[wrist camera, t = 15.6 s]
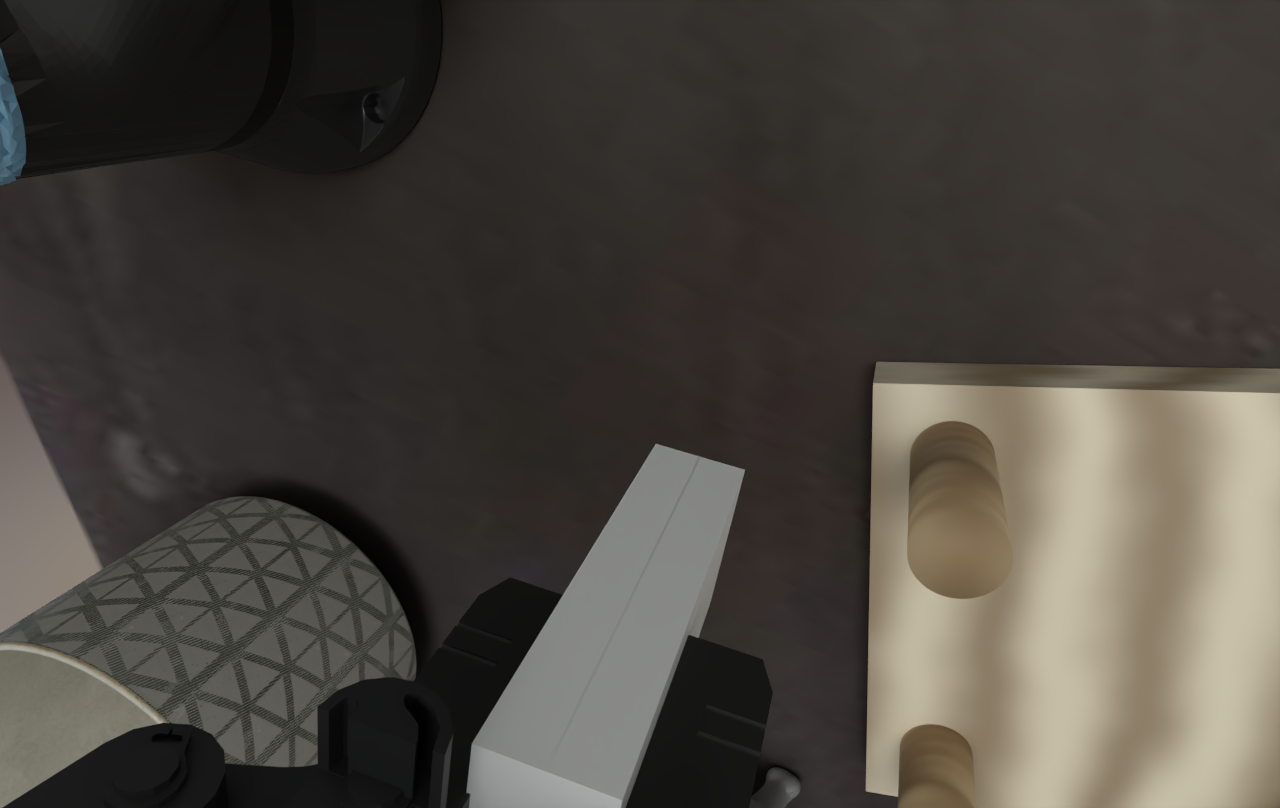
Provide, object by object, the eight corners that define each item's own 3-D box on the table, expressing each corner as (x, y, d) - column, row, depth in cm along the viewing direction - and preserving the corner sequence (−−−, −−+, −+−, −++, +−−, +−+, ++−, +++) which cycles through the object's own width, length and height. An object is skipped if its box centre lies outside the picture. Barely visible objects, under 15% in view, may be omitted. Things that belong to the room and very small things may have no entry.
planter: (316, 736, 64) (113, 963, 48) (159, 536, 61) (-113, 707, 45) (493, 665, 56) (319, 911, 40) (322, 428, 52) (58, 592, 36)
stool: (868, 751, 49) (854, 933, 39) (876, 361, 40) (860, 463, 30) (1387, 832, 41) (1538, 1084, 31) (1531, 373, 33) (1805, 514, 23)
